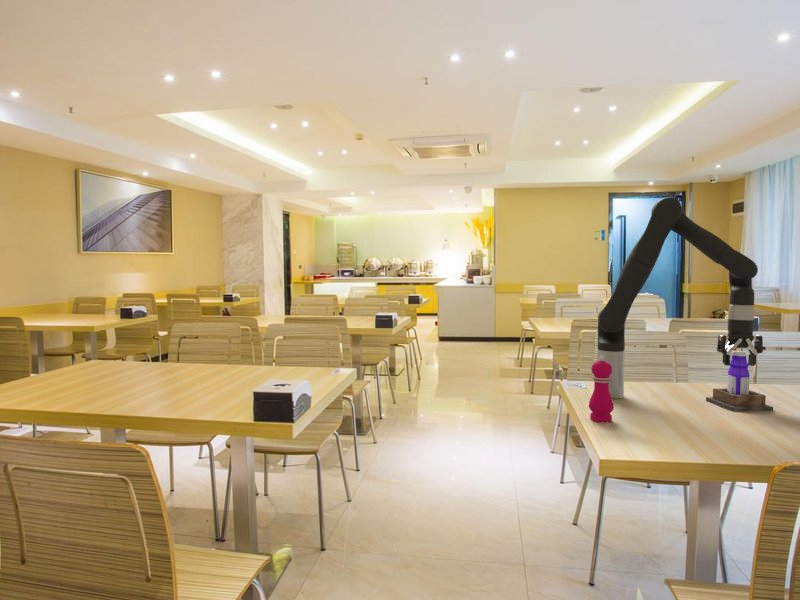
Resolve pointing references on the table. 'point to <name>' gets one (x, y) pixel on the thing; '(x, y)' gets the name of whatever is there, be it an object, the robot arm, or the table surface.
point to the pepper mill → (601, 392)
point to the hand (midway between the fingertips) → (739, 365)
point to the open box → (739, 401)
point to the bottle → (738, 374)
